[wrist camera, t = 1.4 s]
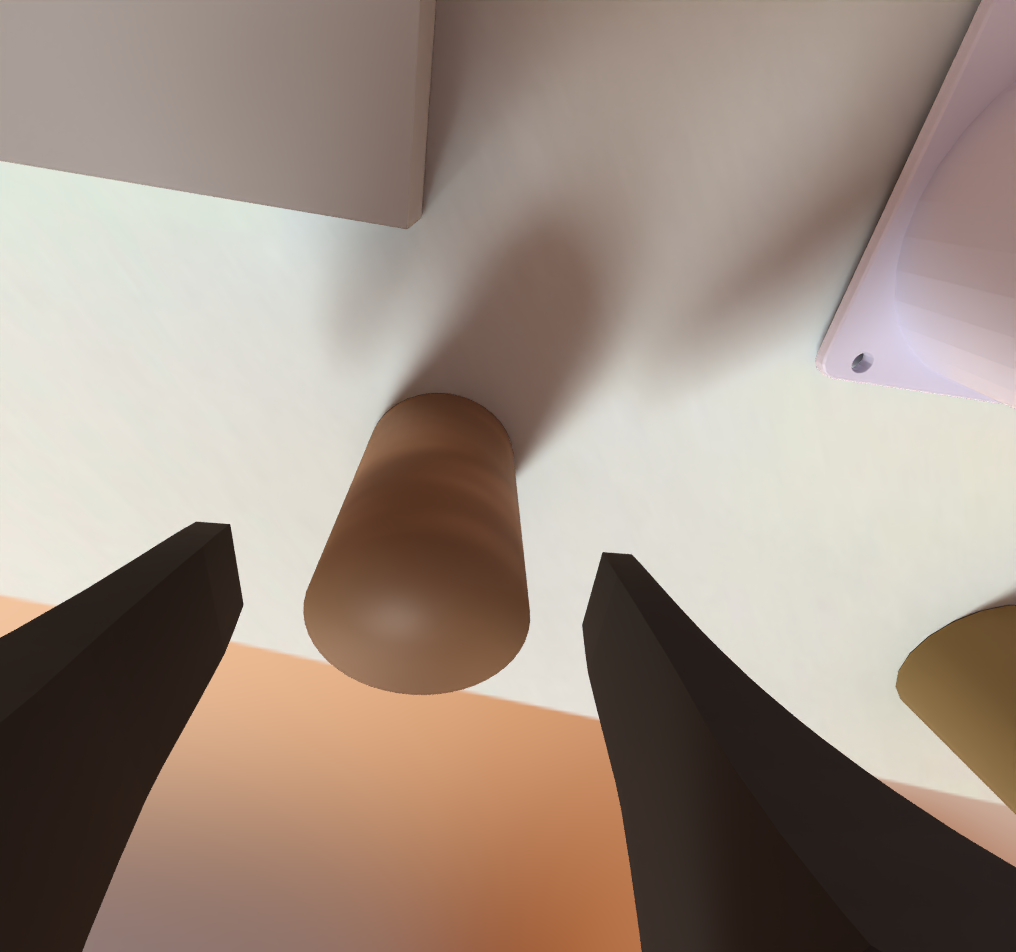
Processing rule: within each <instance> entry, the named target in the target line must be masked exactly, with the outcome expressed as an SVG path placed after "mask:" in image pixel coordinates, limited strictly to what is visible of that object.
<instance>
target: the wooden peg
mask: <svg viewBox="0 0 1016 952" xmlns="http://www.w3.org/2000/svg"><path fill="white" fill-rule="evenodd" d="M304 620H305V625H306V628H307V631H308V634H309V636H310V638H311V640H312V642H313V644H314V645H315V647H316V648H317V649H318V651H319V652H320V653H321V654H322V655H323V656H324V658H325V659H326V660H327V661H328V662H329V663H331V664H332V665H333V666H334V667H336V668H337V669H338V670H340V671H341V672H343V673H344V674H346V675H347V676H349V677H351V678H353V679H355V680H357V681H359V682H361V683H364V684H366V685H369V686H371V687H374V688H378V689H382V690H385V691H390V692H395V693H402V694H412V695H431V694H442V693H448V692H453V691H458V690H462V689H465V688H468V687H471V686H474V685H476V684H479V683H481V682H483V681H485V680H487V679H489V678H490V677H492V676H494V675H495V674H497V673H498V672H500V671H501V670H502V669H503V668H505V667H506V666H507V665H508V664H509V663H510V662H511V661H512V660H513V659H514V658H515V656H516V655H517V654H518V652H519V651H520V649H521V648H522V646H523V644H524V642H525V640H526V637H527V634H528V630H529V624H530V609H529V599H528V590H527V580H526V571H525V561H524V552H523V543H522V533H521V524H520V514H519V505H518V495H517V486H516V476H515V467H514V458H513V450H512V445H511V442H510V439H509V436H508V434H507V432H506V430H505V429H504V427H503V426H502V424H501V423H500V421H499V420H498V419H497V418H496V417H495V416H494V415H493V414H492V413H491V412H489V411H488V410H487V409H486V408H484V407H483V406H481V405H480V404H478V403H476V402H474V401H472V400H470V399H467V398H464V397H461V396H457V395H452V394H444V393H431V394H424V395H418V396H415V397H412V398H409V399H407V400H405V401H402V402H400V403H399V404H397V405H396V406H394V407H393V408H391V409H390V410H389V411H388V412H387V413H386V414H385V415H384V416H383V417H382V418H381V419H380V421H379V422H378V424H377V425H376V427H375V429H374V431H373V433H372V436H371V438H370V440H369V443H368V445H367V447H366V450H365V452H364V455H363V457H362V459H361V462H360V464H359V467H358V469H357V471H356V474H355V476H354V479H353V481H352V483H351V486H350V488H349V491H348V493H347V495H346V498H345V500H344V503H343V505H342V507H341V510H340V512H339V515H338V517H337V519H336V522H335V524H334V527H333V529H332V531H331V534H330V536H329V538H328V541H327V543H326V546H325V548H324V550H323V553H322V555H321V558H320V560H319V562H318V565H317V567H316V570H315V572H314V574H313V577H312V579H311V582H310V584H309V586H308V589H307V591H306V595H305V600H304Z"/></svg>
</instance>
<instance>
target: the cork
mask: <svg viewBox="0 0 1016 952" xmlns="http://www.w3.org/2000/svg"><path fill="white" fill-rule="evenodd" d="M896 688H897V691H898V694H899V696H900V699H901V700H902V701H903V702H904V703H905V704H906V705H907V706H908V707H909V708H910V709H911V710H912V711H913V712H914V713H915V714H916V715H917V716H918V717H919V718H920V719H921V720H922V721H923V722H924V723H925V724H926V725H927V726H928V727H929V728H930V729H931V730H932V731H933V732H934V733H935V734H936V735H937V736H938V737H939V738H940V739H941V740H942V741H943V742H944V743H945V744H946V745H947V746H948V747H949V748H950V749H951V750H952V751H953V752H954V753H955V754H956V755H957V756H958V757H959V758H960V759H961V760H962V761H963V762H964V763H965V764H966V765H967V766H968V767H969V768H970V769H971V770H972V771H973V772H974V773H975V774H976V775H977V776H978V777H979V778H980V779H981V780H982V781H983V782H984V783H985V784H986V785H987V786H988V787H989V788H990V789H991V790H992V791H993V792H994V793H995V794H996V795H997V796H998V797H999V798H1000V799H1001V800H1002V801H1003V802H1004V803H1005V804H1006V805H1007V806H1008V807H1009V808H1010V809H1011V810H1012V811H1013V812H1014V813H1015V814H1016V605H1008V606H1003V607H998V608H993V609H988V610H983V611H980V612H977V613H975V614H972V615H970V616H967V617H965V618H962V619H959V620H957V621H954V622H952V623H951V624H949V625H947V626H946V627H944V628H942V629H941V630H939V631H937V632H936V633H934V634H932V635H931V636H929V637H928V638H927V639H926V640H925V641H923V642H922V643H921V644H920V645H919V646H918V647H917V648H916V649H915V650H914V651H912V652H911V653H910V654H909V656H908V657H907V659H906V660H905V662H904V664H903V665H902V667H901V668H900V670H899V672H898V677H897V682H896Z"/></svg>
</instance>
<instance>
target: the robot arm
mask: <svg viewBox="0 0 1016 952" xmlns="http://www.w3.org/2000/svg"><path fill="white" fill-rule="evenodd" d="M862 353H863V354H864V355H863V359H862V361H861V362H860V363H859V364H858V365H857V366H855V367H853V368H852V367H851V366H852V362H853V360H854V359H855V358H856V357H857V356H858V355H860V354H862ZM816 367H817V368H818V370H819V371H820V372H821V373H823V374H824V375H826V376H828V377H830V378H833V379H838V380H845V381H852V382H858V383H865V384H872V385H879V386H885V387H892V388H899V389H905V390H912V391H919V392H926V393H932V394H939V395H946V396H952V397H959V398H966V399H972V400H979V401H986V402H993V403H999V404H1006V405H1008V406H1010V407H1012V408H1014V409H1016V0H981V3H980V5H979V7H978V9H977V11H976V13H975V16H974V18H973V20H972V22H971V24H970V26H969V28H968V31H967V33H966V35H965V37H964V39H963V41H962V43H961V46H960V48H959V50H958V52H957V54H956V56H955V59H954V61H953V63H952V65H951V67H950V69H949V71H948V74H947V76H946V78H945V80H944V82H943V84H942V86H941V89H940V91H939V93H938V95H937V97H936V99H935V102H934V104H933V106H932V108H931V110H930V112H929V114H928V117H927V119H926V121H925V123H924V125H923V127H922V129H921V132H920V134H919V136H918V138H917V140H916V142H915V145H914V147H913V149H912V151H911V153H910V155H909V157H908V160H907V162H906V164H905V166H904V168H903V170H902V172H901V175H900V177H899V179H898V181H897V183H896V185H895V188H894V190H893V192H892V194H891V196H890V198H889V200H888V203H887V205H886V207H885V209H884V211H883V213H882V215H881V218H880V220H879V222H878V224H877V226H876V228H875V231H874V233H873V235H872V237H871V239H870V241H869V243H868V246H867V248H866V250H865V252H864V254H863V256H862V258H861V261H860V263H859V265H858V267H857V269H856V271H855V274H854V276H853V278H852V280H851V282H850V284H849V286H848V289H847V291H846V293H845V295H844V297H843V299H842V302H841V304H840V306H839V308H838V310H837V312H836V314H835V317H834V319H833V321H832V323H831V325H830V327H829V329H828V332H827V334H826V336H825V338H824V340H823V342H822V345H821V347H820V349H819V351H818V353H817V357H816ZM242 608H243V599H242V593H241V587H240V581H239V575H238V569H237V563H236V557H235V551H234V545H233V539H232V533H231V527H230V524H220V523H206V522H195V523H193V524H191V525H189V526H188V527H186V528H184V529H182V530H181V531H179V532H177V533H176V534H174V535H173V536H171V537H169V538H168V539H166V540H165V541H163V542H161V543H160V544H158V545H157V546H155V547H153V548H152V549H150V550H149V551H147V552H145V553H144V554H142V555H141V556H139V557H137V558H136V559H134V560H133V561H131V562H129V563H128V564H126V565H125V566H123V567H121V568H120V569H118V570H116V571H115V572H113V573H112V574H110V575H108V576H107V577H105V578H104V579H102V580H100V581H99V582H97V583H95V584H94V585H92V586H91V587H89V588H87V589H86V590H84V591H82V592H81V593H79V594H77V595H75V596H73V597H72V598H70V599H68V600H66V601H65V602H63V603H61V604H59V605H58V606H56V607H54V608H52V609H51V610H49V611H47V612H45V613H44V614H42V615H40V616H38V617H37V618H35V619H33V620H31V621H30V622H28V623H26V624H24V625H23V626H21V627H19V628H18V629H16V630H14V631H12V632H10V633H8V634H7V635H4V636H3V637H1V638H0V952H82V951H83V948H84V945H85V942H86V940H87V937H88V935H89V933H90V930H91V927H92V925H93V923H94V920H95V918H96V916H97V913H98V911H99V908H100V906H101V903H102V901H103V899H104V896H105V893H106V891H107V889H108V886H109V884H110V882H111V879H112V877H113V874H114V872H115V869H116V867H117V865H118V862H119V860H120V858H121V855H122V853H123V851H124V848H125V846H126V844H127V842H128V839H129V837H130V835H131V832H132V830H133V828H134V826H135V823H136V821H137V819H138V816H139V814H140V812H141V810H142V807H143V805H144V803H145V800H146V798H147V796H148V794H149V792H150V790H151V788H152V786H153V784H154V782H155V780H156V779H157V776H158V775H159V773H160V771H161V769H162V767H163V765H164V763H165V762H166V760H167V758H168V756H169V754H170V752H171V751H172V749H173V747H174V745H175V743H176V741H177V740H178V738H179V736H180V734H181V733H182V731H183V729H184V727H185V725H186V724H187V722H188V720H189V718H190V716H191V715H192V713H193V711H194V709H195V707H196V705H197V704H198V702H199V700H200V698H201V696H202V695H203V693H204V691H205V689H206V687H207V685H208V684H209V682H210V680H211V678H212V676H213V674H214V673H215V670H216V669H217V667H218V665H219V663H220V661H221V659H222V657H223V656H224V654H225V651H226V649H227V646H228V644H229V641H230V639H231V637H232V634H233V632H234V629H235V626H236V624H237V621H238V618H239V616H240V613H241V610H242ZM582 627H583V636H584V645H585V654H586V661H587V669H588V674H589V679H590V683H591V687H592V691H593V695H594V699H595V703H596V707H597V711H598V715H599V719H600V723H601V727H602V731H603V735H604V738H605V742H606V746H607V750H608V755H609V759H610V762H611V766H612V770H613V774H614V778H615V782H616V787H617V791H618V796H619V801H620V806H621V810H622V817H623V823H624V830H625V835H626V843H627V849H628V855H629V862H630V867H631V875H632V882H633V890H634V896H635V904H636V910H637V918H638V925H639V933H640V941H641V949H642V952H1016V867H1014V866H1013V865H1011V864H1009V863H1007V862H1006V861H1004V860H1003V859H1001V858H999V857H997V856H996V855H994V854H993V853H991V852H989V851H988V850H986V849H984V848H983V847H981V846H979V845H977V844H976V843H974V842H972V841H971V840H969V839H968V838H966V837H964V836H962V835H961V834H959V833H958V832H956V831H955V830H953V829H951V828H950V827H948V826H947V825H945V824H944V823H942V822H941V821H939V820H938V819H936V818H935V817H933V816H932V815H930V814H929V813H927V812H925V811H924V810H922V809H921V808H919V807H918V806H916V805H915V804H913V803H912V802H910V801H909V800H907V799H906V798H904V797H903V796H901V795H900V794H898V793H897V792H895V791H894V790H892V789H891V788H890V787H888V786H887V785H885V784H884V783H882V782H881V781H880V780H878V779H877V778H875V777H874V776H872V775H871V774H870V773H868V772H867V771H865V770H864V769H863V768H861V767H860V766H858V765H857V764H856V763H854V762H853V761H852V760H850V759H849V758H848V757H846V756H845V755H844V754H842V753H841V752H840V751H838V750H837V749H836V748H834V747H833V746H832V745H830V744H829V743H828V742H826V741H825V740H824V739H822V738H821V737H820V736H818V735H817V734H816V733H815V732H813V731H812V730H811V729H810V728H808V727H807V726H806V725H804V724H803V723H802V722H801V721H799V720H798V719H797V718H796V717H795V716H794V715H792V714H791V713H790V712H789V711H788V710H786V709H785V708H784V707H783V706H782V705H780V704H779V703H778V702H777V701H776V700H775V699H773V698H772V697H771V696H770V695H769V694H767V693H766V692H765V691H764V690H763V689H762V688H761V687H759V686H758V685H757V684H756V683H755V682H754V681H753V680H752V679H751V678H749V677H748V676H747V675H746V674H745V673H744V672H743V671H742V670H741V669H740V668H739V667H738V666H737V665H736V664H735V663H734V662H733V661H732V660H731V659H729V658H728V657H727V656H726V655H725V654H724V653H723V652H722V651H721V650H720V649H719V648H718V647H717V646H716V645H715V644H714V643H713V642H712V641H711V640H710V639H709V638H708V637H707V636H706V635H705V634H704V633H703V632H702V631H701V630H700V629H699V627H698V626H697V625H696V624H695V623H694V622H693V621H692V620H691V619H690V618H689V617H688V616H687V615H686V614H685V613H684V612H683V610H682V609H681V608H680V607H679V606H678V605H677V604H676V603H675V602H674V601H673V599H672V598H671V597H670V596H669V595H668V594H667V593H666V592H665V591H664V589H663V588H662V587H661V586H660V585H659V584H658V583H657V582H656V580H655V579H654V578H653V577H652V576H651V575H650V574H649V573H648V572H647V570H646V569H645V568H644V567H643V566H642V565H641V564H640V563H639V562H638V560H637V559H636V558H635V557H634V556H633V555H632V554H619V553H606V552H603V553H602V556H601V560H600V563H599V567H598V571H597V574H596V578H595V581H594V585H593V588H592V592H591V596H590V599H589V603H588V606H587V610H586V613H585V617H584V621H583V624H582Z"/></svg>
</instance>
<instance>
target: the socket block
mask: <svg viewBox="0 0 1016 952" xmlns="http://www.w3.org/2000/svg"><path fill="white" fill-rule="evenodd" d="M435 12H436V0H0V161H5V162H11V163H17V164H23V165H29V166H35V167H41V168H47V169H52V170H58V171H64V172H70V173H76V174H82V175H88V176H94V177H100V178H106V179H112V180H118V181H124V182H130V183H136V184H142V185H148V186H154V187H160V188H166V189H172V190H177V191H183V192H189V193H195V194H201V195H207V196H213V197H219V198H225V199H231V200H237V201H243V202H249V203H255V204H261V205H267V206H273V207H279V208H285V209H291V210H297V211H302V212H308V213H314V214H320V215H326V216H332V217H338V218H344V219H350V220H356V221H362V222H368V223H374V224H380V225H386V226H392V227H398V228H404V229H408V228H409V227H410V226H412V225H413V224H414V223H415V222H417V221H418V220H419V219H420V218H421V217H422V202H423V187H424V173H425V158H426V144H427V129H428V114H429V100H430V85H431V70H432V56H433V41H434V26H435Z"/></svg>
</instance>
